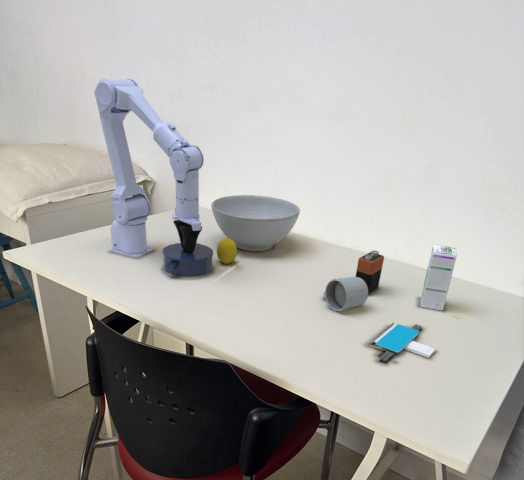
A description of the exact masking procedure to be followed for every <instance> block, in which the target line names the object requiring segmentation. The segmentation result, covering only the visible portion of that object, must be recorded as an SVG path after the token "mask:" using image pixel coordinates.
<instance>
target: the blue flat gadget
mask: <svg viewBox="0 0 524 480" xmlns="http://www.w3.org/2000/svg"><path fill="white" fill-rule="evenodd" d="M422 330H423V326H422V325H420V324H417V323H415V325H413V326H412V327H408V326H406V325H402V324H400V323H399V324H395V322H392V323H391V324H389V325H388V326H387V327H386V328H385V329H384V330H382V331H381V332H380V333H379V334H377V335H376V337H374V338H373V339H372V340H371V342H370V343H368V345H367V347H370V348H373V349H375V350H378V351H381V352H380V353H379V354H378V355H377V357H378V358H379V360H378V362H381V363H383V364H387V363H388V362H389V361H391V360H392V359H393V358H394V357H395V356H396V355H397V354H398V353H400V352H403V351H404V350H406V351H408V352H412V353H414V354H416V355H419V356H422V357H424V358H428V359H429V358H430V357H431V356H432V355H433V354H434V353H435V352H436V348H435V347H432V346H429V345H426V344H423V343H421V342H418V341H415V339H416V337H417V336H418V335H419V334H420V333H421V331H422Z"/></svg>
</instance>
